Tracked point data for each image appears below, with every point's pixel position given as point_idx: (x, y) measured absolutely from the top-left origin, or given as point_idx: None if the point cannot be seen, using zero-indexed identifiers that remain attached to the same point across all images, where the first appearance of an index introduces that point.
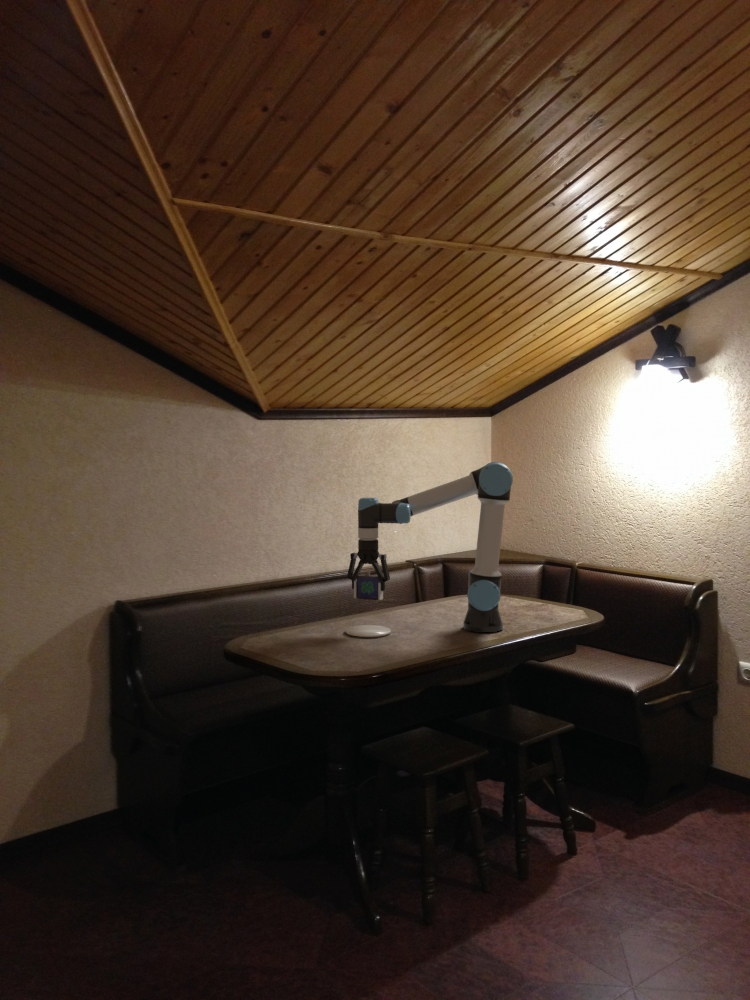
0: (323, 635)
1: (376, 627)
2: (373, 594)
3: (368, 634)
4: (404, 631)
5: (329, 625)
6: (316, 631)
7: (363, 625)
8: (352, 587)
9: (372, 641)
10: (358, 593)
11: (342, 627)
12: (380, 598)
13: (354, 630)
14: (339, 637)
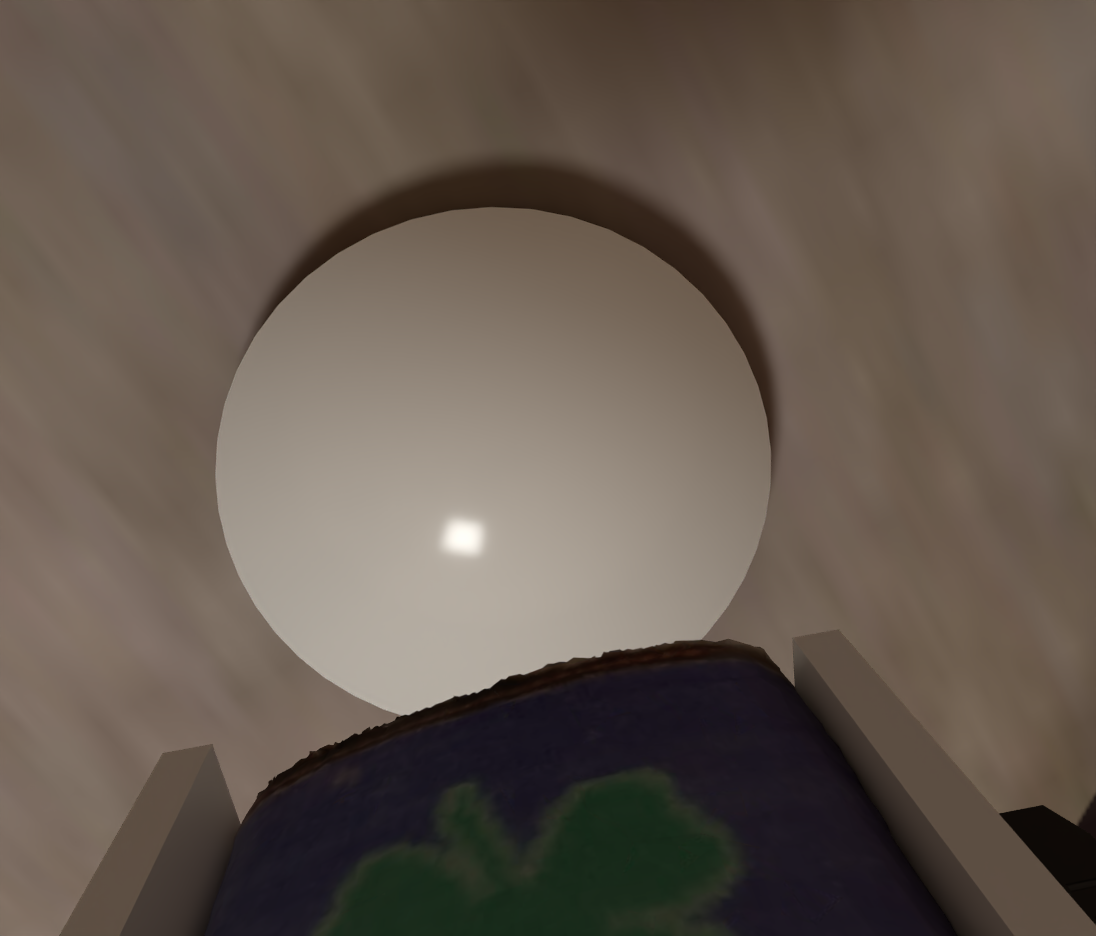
0: (926, 93)
1: (491, 649)
2: (337, 829)
3: (363, 297)
4: (217, 752)
5: (1057, 561)
6: (1087, 238)
7: None
8: (1070, 839)
9: (206, 143)
10: (771, 728)
11: (891, 560)
12: (150, 788)
13: (636, 391)
14: (694, 107)
